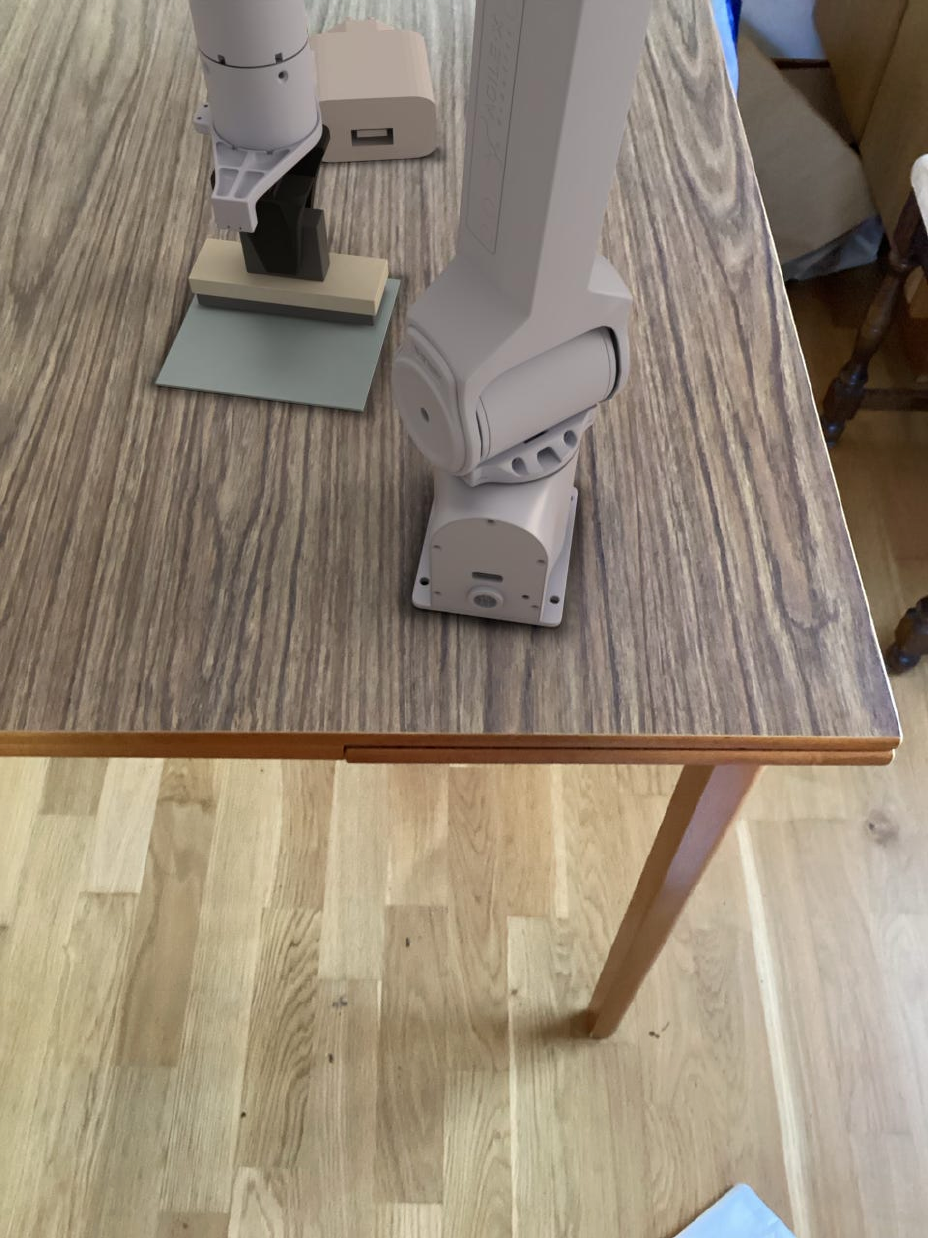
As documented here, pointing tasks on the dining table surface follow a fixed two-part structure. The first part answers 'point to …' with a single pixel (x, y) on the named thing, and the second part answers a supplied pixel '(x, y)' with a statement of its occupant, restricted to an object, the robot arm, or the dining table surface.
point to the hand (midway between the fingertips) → (287, 257)
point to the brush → (292, 279)
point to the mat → (277, 355)
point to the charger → (374, 92)
